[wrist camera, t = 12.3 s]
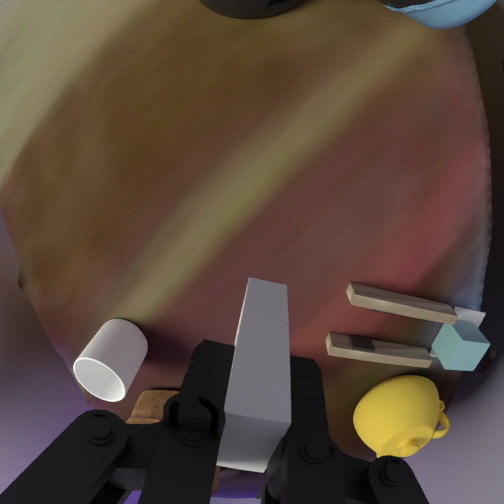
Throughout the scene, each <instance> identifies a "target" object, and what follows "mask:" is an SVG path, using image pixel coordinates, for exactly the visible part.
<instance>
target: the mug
mask: <svg viewBox="0 0 504 504" xmlns="http://www.w3.org/2000/svg"><path fill="white" fill-rule="evenodd" d="M147 350H148V345H147V340H146V338H145V336H144V334H143V333H142V331H141V330H140V329H139V328H138V327H137V326H135V325H134V324H132V323H131V322H129V321H126V320H123V319H112V320H109V321H107V322H106V323H105V324H104V325H103V326H102V327H101V328H100V330H99V331H98V332H97V334H96V335H95V336H94V337H93V339H92V340H91V341H90V343H89V344H88V345H87V347H86V348H85V349H84V351H83V352H82V353H81V354H80V356H79V357H78V358H77V360H76V361H75V363H74V373H75V375H76V377H77V379H78V381H79V382H80V383H81V385H82V386H83V387H84V388H85V389H86V390H88V391H89V392H90V393H92V394H93V395H95V396H96V397H98V398H101V399H103V400H106V401H120V400H122V399H123V398H124V397H125V395H126V393H127V391H128V389H129V387H130V385H131V383H132V381H133V379H134V377H135V375H136V373H137V371H138V370H139V368H140V366H141V364H142V362H143V360H144V358H145V356H146V354H147Z"/></svg>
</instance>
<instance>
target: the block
mask: <svg viewBox="0 0 504 504" xmlns="http://www.w3.org/2000/svg"><path fill="white" fill-rule="evenodd" d="M489 346H490V343H489V342H488V340H487V339H486V338H485V337H484V335H483V334H482V333H481V332H480V330H479V329H478V328H477V327H476V326H475V324H472V323H467V322H462V321H456V322H455V324H454V325H453V324H447V323H444V324H443V326H442V328H441V330H440V332H439V333H438V335H437V337H436V339H435V340H434V342H433V344H432V345H431V347H432V348H433V350H434V352H435V353H436V355H437V357H438V358H439V360H440V362H441V364H442V365H443V367H444V369H451V370H469V371H473V370H474V369H475V367H476V366H477V364H478V363H479V361H480V360H481V358H482V357H483V355H484V354H485V352H486V350H487V349H488V347H489Z"/></svg>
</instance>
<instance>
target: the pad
mask: <svg viewBox="0 0 504 504" xmlns="http://www.w3.org/2000/svg"><path fill="white" fill-rule="evenodd" d="M454 311H455V313H456V314H457V315H458V316H459V317H458V318H457V320H456V321H462V322H467V323H472V324H475V326H476V327H477V328H478V327H479V325H480V323H481V322H482V320H483V318H484V316H485V314H486V313H483V312H479V311H475V310H470V309H466V308H462V307H457V306H455V308H454ZM429 355H430V356H432V357H437V355H436V353H435V352H434V350H433V348H432V349H431V351H430V353H429Z"/></svg>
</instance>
